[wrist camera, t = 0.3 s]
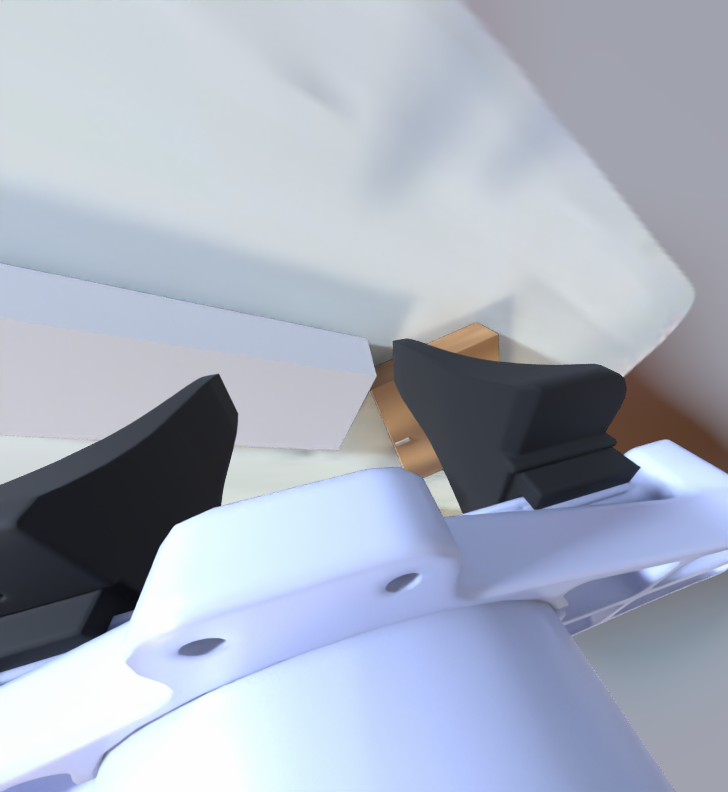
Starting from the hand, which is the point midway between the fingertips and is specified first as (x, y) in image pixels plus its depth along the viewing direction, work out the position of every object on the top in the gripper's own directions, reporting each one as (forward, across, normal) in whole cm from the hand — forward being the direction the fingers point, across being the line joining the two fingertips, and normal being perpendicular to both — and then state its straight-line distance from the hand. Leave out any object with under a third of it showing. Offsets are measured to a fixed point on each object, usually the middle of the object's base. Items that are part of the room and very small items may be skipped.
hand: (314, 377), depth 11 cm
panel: (+10, -11, +11) cm, 19 cm away
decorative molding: (+10, +14, +1) cm, 17 cm away
